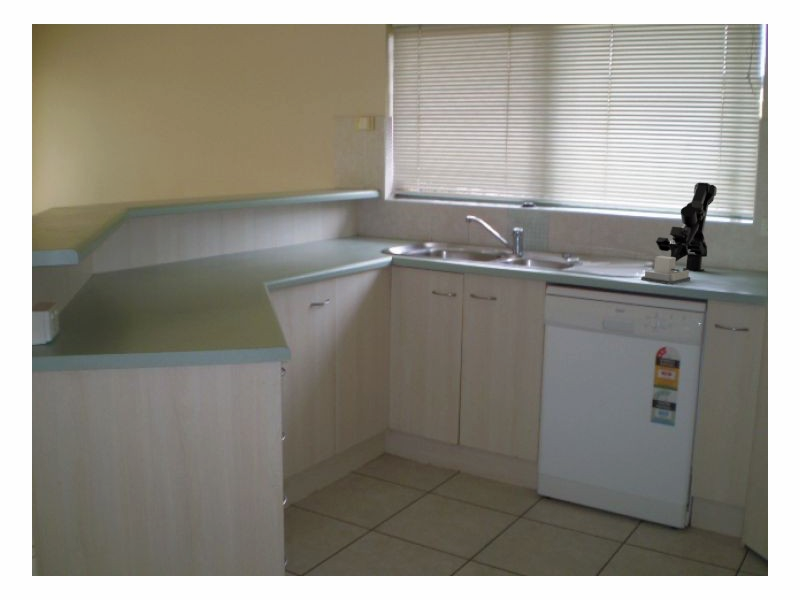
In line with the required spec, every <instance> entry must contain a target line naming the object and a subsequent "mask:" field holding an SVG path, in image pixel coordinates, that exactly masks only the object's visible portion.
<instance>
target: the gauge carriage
mask: <svg viewBox="0 0 800 600" xmlns="http://www.w3.org/2000/svg"><path fill="white" fill-rule="evenodd" d="M675 261H676V258H675V257H671V256H666V255H665V256H664V255H659V256H654V269H653V272H657V273H664V274H671V273H673V272H677V271H680V269H678V268H676V262H677V261H676V262H675Z"/></svg>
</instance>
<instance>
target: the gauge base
mask: <svg viewBox="0 0 800 600" xmlns="http://www.w3.org/2000/svg"><path fill="white" fill-rule="evenodd" d="M689 273H690V270H683V269H682V270H679V271H675V272H673V273H671V274H664V273H657V272H654V271H651V270H650V271H649V270H646V271H644V275H643V276H641V277H640V280H641V281H646V282H654V283H660V284H667V285H676V284H679V283H684V282H687V281H688V282H689V281H691V276H689V275H690V274H689Z"/></svg>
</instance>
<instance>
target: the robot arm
mask: <svg viewBox="0 0 800 600" xmlns="http://www.w3.org/2000/svg"><path fill="white" fill-rule="evenodd" d="M717 192H718V191H717V186H715V185H714V184H711V183H709V182H701V181H700V182H696V184H695V185H694V189H693V196H692V200H691V202H688V203H686V205H685V206H683V207H682V208H681V209H680V215H681V217H680V218H681V223H682V224H683V225H682V226H680V227H679V226H671V229H670V231H669V235H670V236H672V238H671V239H672V240H669V238H668V237H661V236H659V237H658V238H656V240H655V243H656V245H657V247H658V249H659V250H660V251H663V252H669V251H670V257H675V258H676V261H675V263H676V262H677V261H679V260H681V259H682V258H684V257H687V258H686V266H685V267H683V268H682V271H683V270H689V272H690V271H691V272H701V271H705V268H702V265H703V264H702V263H703V258H705V257H708V245H707V243H706V242H707V241H706V239H705V235H704V230H705V224H706V220H707V216H708V215H707V214H708V209H709V206H710V205H711V204H712V203H713V202H714V200H715V196H717Z"/></svg>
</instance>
